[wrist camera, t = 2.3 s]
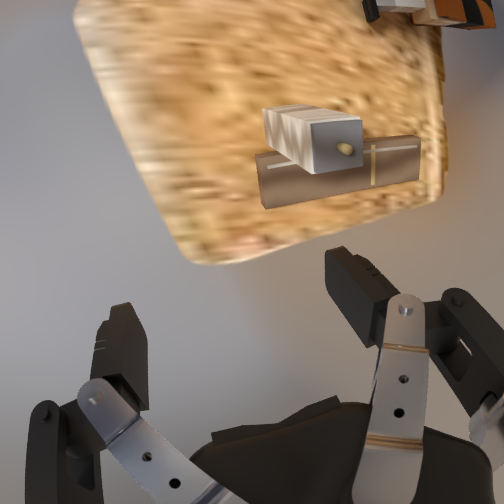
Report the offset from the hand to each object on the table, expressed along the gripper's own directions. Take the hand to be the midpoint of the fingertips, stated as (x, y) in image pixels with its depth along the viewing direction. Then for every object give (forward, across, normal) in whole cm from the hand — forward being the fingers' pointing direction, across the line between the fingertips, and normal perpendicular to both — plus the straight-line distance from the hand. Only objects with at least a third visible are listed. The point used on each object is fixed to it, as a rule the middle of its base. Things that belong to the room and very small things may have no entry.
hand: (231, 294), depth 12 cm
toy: (+34, -39, -20) cm, 55 cm away
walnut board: (+34, -24, +8) cm, 43 cm away
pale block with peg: (+34, -14, 0) cm, 37 cm away
